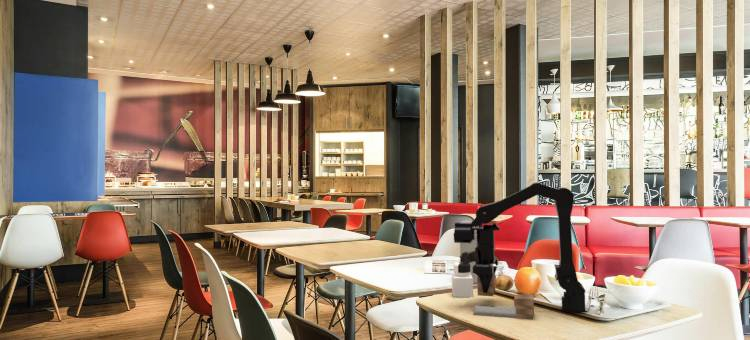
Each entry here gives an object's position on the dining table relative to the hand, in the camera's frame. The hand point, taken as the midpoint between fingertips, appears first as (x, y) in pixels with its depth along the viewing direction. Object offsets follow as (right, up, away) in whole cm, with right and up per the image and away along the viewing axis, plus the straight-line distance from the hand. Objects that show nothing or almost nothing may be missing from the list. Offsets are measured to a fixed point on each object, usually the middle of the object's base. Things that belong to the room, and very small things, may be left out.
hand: (486, 290), depth 169 cm
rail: (+3, -6, -11) cm, 12 cm away
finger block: (0, -1, 0) cm, 1 cm away
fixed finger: (+9, -5, -13) cm, 16 cm away
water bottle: (+3, -6, +39) cm, 40 cm away
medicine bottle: (-5, -6, +19) cm, 20 cm away
